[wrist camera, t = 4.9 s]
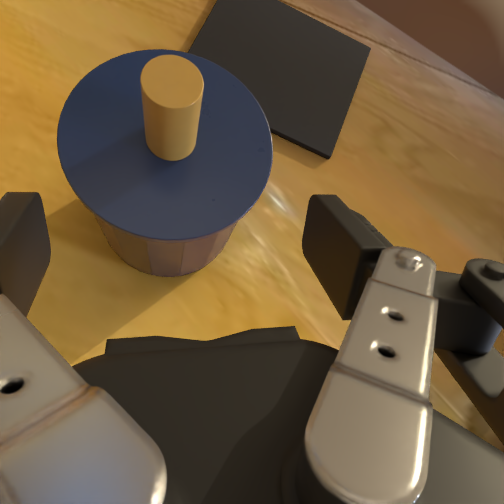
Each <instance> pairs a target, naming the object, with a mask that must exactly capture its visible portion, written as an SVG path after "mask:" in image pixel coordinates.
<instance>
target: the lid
mask: <svg viewBox="0 0 504 504" xmlns="http://www.w3.org/2000/svg"><path fill="white" fill-rule="evenodd" d="M57 146H58V155H59V159H60V163H61V166H62V169H63V171H64V174H65V176H66V178H67V180H68V182H69V184H70V186H71V187H72V189H73V191H74V192H75V194H76V195H77V197H78V198H79V199H80V200H81V202H82V203H83V204H84V205H85V206H86V207H87V208H88V209H89V210H90V211H91V212H92V213H93V214H94V215H95V216H96V217H98V218H99V219H101V220H102V221H103V222H105V223H106V224H108V225H109V226H111V227H113V228H115V229H117V230H119V231H121V232H123V233H125V234H128V235H131V236H133V237H136V238H140V239H144V240H148V241H154V242H163V243H181V242H189V241H195V240H199V239H203V238H207V237H210V236H212V235H215V234H217V233H220V232H222V231H223V230H225V229H227V228H229V227H230V226H232V225H233V224H235V223H236V222H237V221H239V220H240V219H241V218H242V217H243V216H244V215H245V214H246V213H247V212H248V211H249V210H250V209H251V208H252V207H253V205H254V204H255V203H256V201H257V200H258V199H259V197H260V195H261V193H262V191H263V190H264V188H265V186H266V183H267V181H268V178H269V175H270V171H271V166H272V158H273V145H272V137H271V132H270V128H269V125H268V122H267V119H266V116H265V114H264V112H263V110H262V108H261V106H260V105H259V103H258V102H257V100H256V99H255V97H254V96H253V94H252V93H251V92H250V91H249V90H248V89H247V87H246V86H245V85H244V84H243V83H242V82H240V81H239V80H238V79H237V78H236V77H235V76H234V75H232V74H231V73H229V72H228V71H227V70H225V69H224V68H222V67H220V66H219V65H217V64H215V63H213V62H211V61H209V60H206V59H204V58H202V57H199V56H196V55H193V54H189V53H185V52H180V51H174V50H163V49H159V50H142V51H135V52H131V53H127V54H123V55H121V56H118V57H115V58H112V59H110V60H108V61H106V62H105V63H103V64H101V65H99V66H98V67H96V68H95V69H93V70H92V71H91V72H89V73H88V74H87V75H86V76H85V77H84V78H83V79H82V80H81V81H80V82H79V83H78V84H77V85H76V87H75V88H74V89H73V90H72V92H71V93H70V95H69V97H68V99H67V100H66V102H65V104H64V107H63V109H62V112H61V115H60V119H59V124H58V131H57Z"/></svg>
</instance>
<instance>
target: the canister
mask: <svg viewBox="0 0 504 504" xmlns="http://www.w3.org/2000/svg"><path fill="white" fill-rule="evenodd" d="M95 217H96V216H95ZM96 219H97V221H98V223H99V225H100V227H101V229H102V231H103V233H104V235H105V237H106V239H107V241H108V243H109V245H110V246H111V247H112V248H113V249H114V250H115V252H116V253H117V254H118V255H119V256H120V257H121V258H122V259H123V260H124V261H125V262H126V263H127V264H128V265H130V266H132V267H134V268H136V269H138V270H139V271H142V272H144V273H147V274H151V275H155V276H162V277H175V276H182V275H186V274H189V273H192V272H195V271H197V270H199V269H201V268H203V267H205V266H206V265H207V264H208V263H210V262H211V261H212V260H213V259H214V258H215V257H216V256H217V255H218V254H219V253H220V252H221V251H222V250H223V248H224V246H225V244H226V242H227V240H228V239H229V237H230V235H231V233H232V231H233V229H234V227H235V226H236V224H237V222H238V221H237V222H236V223H235V224H233V225H232V226H230V227H229V228H227V229H225V230H223V231H222V232H220V233H217V234H215V235H212V236H210V237H207V238H203V239H199V240H195V241H189V242H181V243H163V242H154V241H148V240H144V239H140V238H136V237H133V236H131V235H128V234H125V233H123V232H121V231H119V230H117V229H115V228H113V227H111V226H109V225H108V224H106V223H105V222H103V221H102V220H101V219H99V218H98V217H96Z"/></svg>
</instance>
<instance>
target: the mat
mask: <svg viewBox="0 0 504 504" xmlns="http://www.w3.org/2000/svg"><path fill="white" fill-rule="evenodd" d="M370 49H371V48H370V47H368V46H366V45H364V44H362V43H360V42H358V41H356V40H354V39H352V38H350V37H348V36H346V35H344V34H342V33H341V32H339V31H337V30H335V29H333V28H331V27H329V26H327V25H325V24H323V23H321V22H319V21H317V20H315V19H313V18H311V17H309V16H307V15H305V14H303V13H302V12H300V11H298V10H296V9H294V8H292V7H290V6H288V5H286V4H284V3H282V2H280V1H278V0H217V2H216V4H215V5H214V7H213V9H212V11H211V13H210V14H209V16H208V18H207V20H206V21H205V23H204V25H203V27H202V28H201V30H200V32H199V34H198V36H197V37H196V39H195V41H194V43H193V44H192V46H191V48H190V50H189V51H188V53H189V54H193V55H196V56H199V57H202V58H204V59H206V60H209V61H211V62H213V63H215V64H217V65H219V66H220V67H222V68H224V69H225V70H227V71H228V72H229V73H231V74H232V75H234V76H235V77H236V78H237V79H238V80H239V81H240V82H242V83H243V84H244V85H245V86H246V87H247V89H248V90H249V91H250V92H251V93H252V94H253V96H254V97H255V99H256V100H257V102H258V103H259V105H260V106H261V108H262V110H263V112H264V114H265V116H266V119H267V122H268V125H269V128H270V132H272V133H274V134H276V135H278V136H281V137H283V138H285V139H287V140H289V141H291V142H293V143H295V144H297V145H299V146H301V147H304V148H306V149H308V150H310V151H312V152H314V153H316V154H318V155H320V156H322V157H325V158H327V159H329V158H330V157H331V155H332V152H333V150H334V147H335V144H336V142H337V139H338V136H339V133H340V131H341V128H342V125H343V123H344V120H345V117H346V114H347V112H348V109H349V106H350V104H351V101H352V98H353V95H354V93H355V90H356V87H357V85H358V82H359V79H360V76H361V74H362V71H363V68H364V66H365V63H366V60H367V57H368V55H369V52H370Z"/></svg>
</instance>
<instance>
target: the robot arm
mask: <svg viewBox="0 0 504 504" xmlns="http://www.w3.org/2000/svg"><path fill="white" fill-rule="evenodd" d="M302 249H303V254H304V256H305V258H306V260H307V262H308V263H309V265H310V267H311V268H312V270H313V272H314V273H315V275H316V277H317V278H318V280H319V282H320V283H321V285H322V287H323V288H324V290H325V291H326V293H327V295H328V296H329V298H330V300H331V301H332V303H333V305H334V306H335V308H336V310H337V311H338V313H339V315H340V316H341V318H342V320H351V322H350V325H349V327H348V330H347V332H346V335H345V337H344V340H343V342H342V345H341V347H340V349H339V350H337V349H334V348H332V347H329V346H327V345H324V344H321V343H317V342H314V341H309V340H303V339H300V337H299V335H298V333H297V331H296V328H295V326H289V327H275V328H261V329H251V330H247V331H243V332H240V333H236V334H232V335H229V336H225V337H221V338H217V339H214V340H209V341H199V340H190V339H181V338H172V337H163V336H148V337H134V338H119V339H107V342H106V349H105V354H103V355H100V356H96V357H93V358H91V359H88V360H85V361H83V362H81V363H78V364H76V365H74V366H72V367H71V366H70V365H69V363H68V362H67V361H66V360H65V359H64V358H63V357H62V356H61V355H60V354H59V353H58V352H57V351H56V349H55V348H54V347H53V346H52V345H51V344H50V343H49V342H48V341H47V340H46V339H45V338H44V337H43V335H42V334H41V333H40V332H39V331H38V330H37V329H36V328H35V327H34V326H33V325H32V324H31V323H30V321H29V320H28V319H27V318H26V317H27V314H28V312H29V310H30V307H31V305H32V303H33V300H34V298H35V296H36V293H37V291H38V289H39V286H40V284H41V282H42V279H43V277H44V274H45V272H46V270H47V267H48V265H49V262H50V256H51V247H50V240H49V234H48V229H47V224H46V219H45V214H44V208H43V203H42V199H41V196H40V195H39V193H38V192H7V193H6V194H5V195H4V196H3V197H2V199H1V200H0V504H504V453H503V452H502V451H500V450H499V449H497V448H495V447H494V446H492V445H491V444H489V443H487V442H486V441H484V440H483V439H481V438H479V437H478V436H476V435H475V434H473V433H471V432H470V431H468V430H467V429H465V428H463V427H462V426H460V425H459V424H457V423H455V422H454V421H452V420H451V419H449V418H447V417H446V416H444V415H443V414H441V413H439V412H438V411H436V410H435V409H433V408H432V404H431V403H430V402H429V390H430V380H431V370H432V360H433V350H434V351H435V353H436V354H437V355H438V357H439V358H440V359H441V361H442V362H443V363H444V365H445V366H446V368H447V369H448V370H449V372H450V373H451V374H452V376H453V377H454V378H455V380H456V381H457V382H458V384H459V385H460V387H461V388H462V389H463V391H464V392H465V393H466V395H467V396H468V397H469V399H470V400H471V401H472V403H473V404H474V406H475V407H476V408H477V410H478V411H479V412H480V414H481V415H482V416H483V418H484V419H485V420H486V422H487V423H488V425H489V426H490V427H491V429H492V430H493V431H494V433H495V434H496V435H497V437H498V438H499V439H500V441H501V442H502V444H503V445H504V358H503V356H502V355H501V354H500V353H499V352H498V351H497V350H496V349H495V348H494V347H493V345H494V343H495V341H496V339H497V337H498V335H499V333H500V332H501V330H502V328H503V329H504V264H502V263H499V262H496V261H492V260H488V259H471V260H469V261H468V262H467V263H466V266H465V268H464V270H463V273H462V274H456V273H449V272H443V271H436V264H435V262H434V261H433V260H432V259H431V258H430V257H428V256H427V255H425V254H423V253H421V252H419V251H417V250H414V249H410V248H406V247H398V246H393V245H392V244H391V243H390V242H389V241H388V240H387V239H386V238H385V237H384V236H383V235H382V234H381V233H380V232H378V230H377V229H376V228H375V227H374V226H373V225H371V223H370V222H369V221H368V220H367V219H366V218H365V217H364V216H362V215H360V214H359V213H357V212H355V211H353V210H351V209H349V208H348V207H347V206H346V205H345V204H344V203H343V202H342V201H341V199H340V198H339V197H338V196H336V195H312V196H311V198H310V200H309V204H308V210H307V215H306V221H305V227H304V232H303V238H302Z"/></svg>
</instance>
